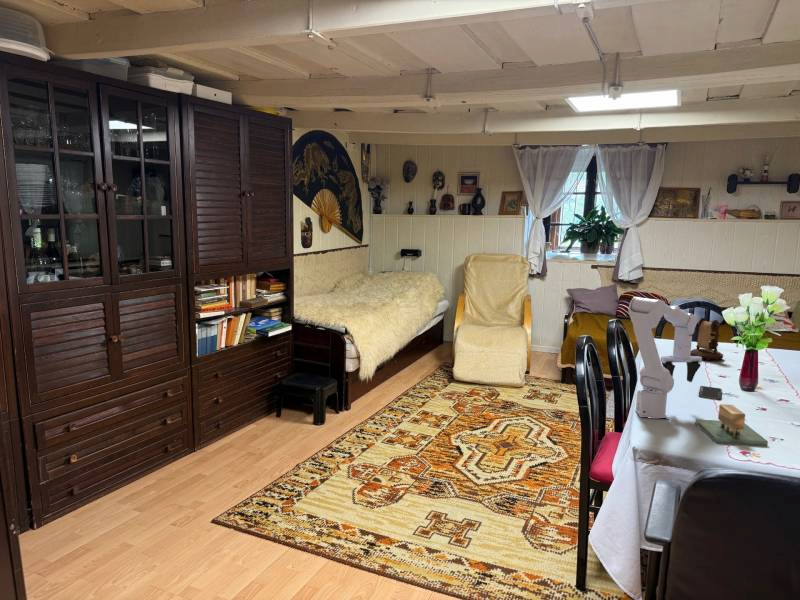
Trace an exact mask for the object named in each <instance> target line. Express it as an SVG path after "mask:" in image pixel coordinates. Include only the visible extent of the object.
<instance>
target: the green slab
mask: <svg viewBox="0 0 800 600" xmlns="http://www.w3.org/2000/svg"><path fill="white" fill-rule="evenodd" d="M694 422H695V423H696V424H697V425H698V426H699V427H700V428H701V429H702V432H703V433H704V434H706V436H708V437H709V438H710V440H712V441H713V442H714V444H724V445H725V444H726V445H727V444H728V445H744V446H746V445H747V446H759V447H768V446H769V445H768V443H769V441H768V440H767V439H766V438H764V437H763V436H762V435H760V434H759V433H758V432H757V431H756V430H754V429H753V428H752V427H750V426H749V425H748V424H746V423H745V422H744V429H730V428H729V427H728V426H726V425H725V424H724V423H723V422H722V421H720V420H715V419H712V420H710V419H698V418H697V419H695V421H694ZM696 424H695V425H696ZM698 426H697V427H698ZM699 427H698V428H699ZM700 428H699V429H700ZM701 429H700V430H701Z"/></svg>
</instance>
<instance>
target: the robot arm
mask: <svg viewBox="0 0 800 600" xmlns="http://www.w3.org/2000/svg"><path fill="white" fill-rule="evenodd" d="M627 308H628V309H627V310H628V313H629V317H630V320H631V323H632V326H633V333H634V335H635V339H636V342H637V346H638V350H639V353H640V356H641V359H642V363H643V367H642V368H641V369H640V371H639V383H640V385H641V386H642V389H640V390H637V393H636V402H635V404H636V405H635V410H634V411H635V412H636V413H637V414H638V416H639V417H640V418H641V417H651V418H650V419H657V418H666V419H665V420H670V417H669V416H668V414H667V412H666V411H667V400H668V393H670V392H671V391H672V390H673V388H674V385H675V380H674V377H673V376H674V371H675V368H676V365H675V364H674V363H686V370H687V371H686V381H687V382H689V383H692V382H693V380H694V377H695V375H696V373H697V372H698V370H699V369H700V368H701V364H702V362H703V361H702V360H703V358H702V357H699V356H690V355H691V350H692V344H693V343H692V341H693V334H694V333H695V329H696V326H697V322H698V320H697V317H696V315H694V313H690V312H686V310H685V309H682V308H680V306H679V305H675V304H674V305H671V306H670V305H668V304H667V303H666V302H665V300H662V299H654V298H648V297H647V298H646V297H639V296H633V298H632V299H631V300H630V302H629V305H628V307H627ZM662 317H664V319H665V320H666V321H667V322H668V323H671V325H672V326H673V327H674V337H673V338H674V339H673V350H672V355H666V356H661V357H660V356H659V352H658V347H657V344H656V341H655V337H654V334H653V330H652V329H655V328H657V326H658V325H659V324H660V321H661V319H662Z"/></svg>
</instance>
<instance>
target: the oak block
mask: <svg viewBox="0 0 800 600" xmlns="http://www.w3.org/2000/svg"><path fill="white" fill-rule="evenodd" d="M718 407H719V408H718V418H717V419H718V421H722V422H723V423H724V424H725V425H726V426H728V427H729V428H730V429H744V423H745V422H746V421H745V419H746V413H744V412H743V411H742V410H740V409H739V408H737V407H736V406H735V405H733V404H722V403H721V404H719V406H718Z"/></svg>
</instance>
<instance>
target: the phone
mask: <svg viewBox="0 0 800 600" xmlns="http://www.w3.org/2000/svg"><path fill="white" fill-rule="evenodd" d="M722 392H723V389H722V388H719V387H713V386H705V385H700V386H699V390H698V397H699V398H702V399H707V398H708V399H707V400H714V399H716V400H715V401H721V400H722V395H723V393H722Z"/></svg>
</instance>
